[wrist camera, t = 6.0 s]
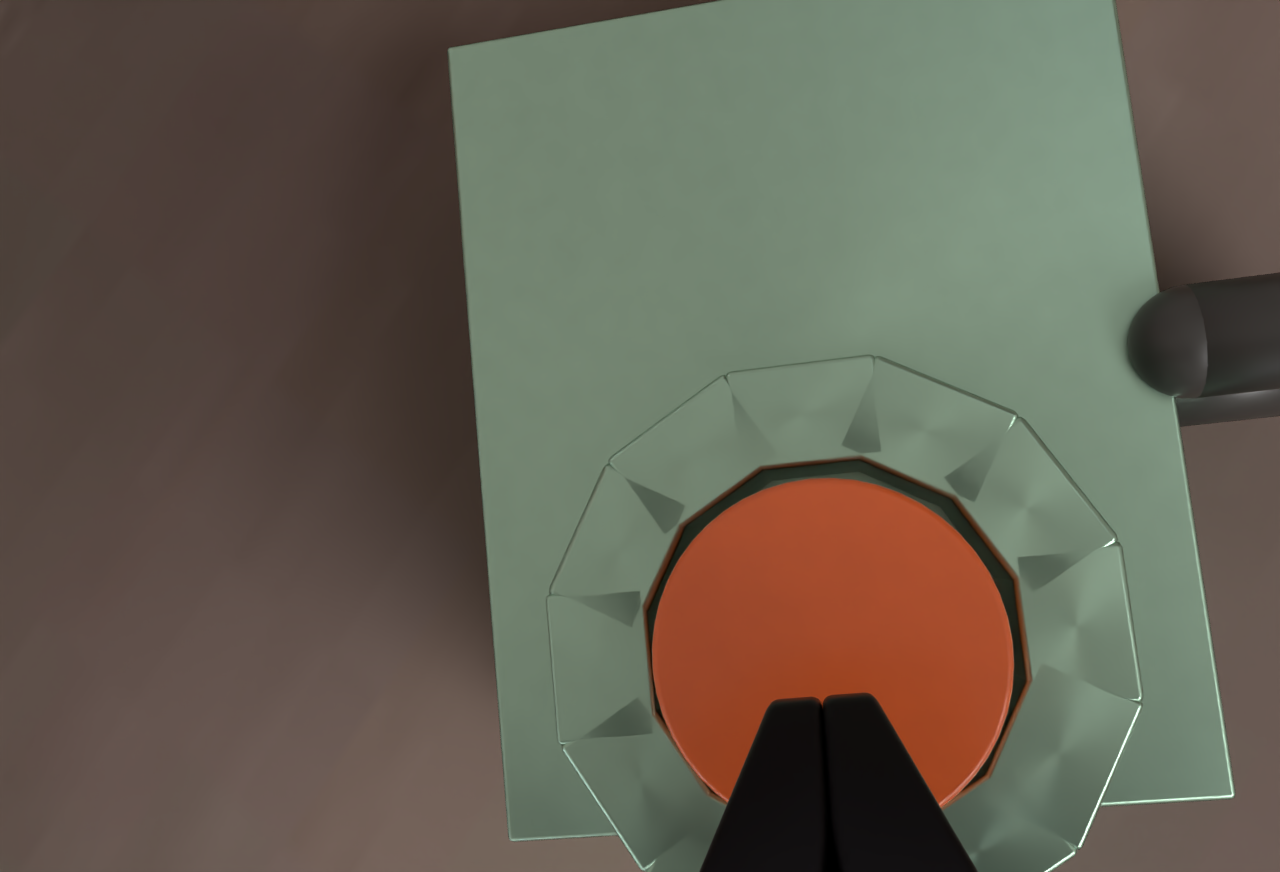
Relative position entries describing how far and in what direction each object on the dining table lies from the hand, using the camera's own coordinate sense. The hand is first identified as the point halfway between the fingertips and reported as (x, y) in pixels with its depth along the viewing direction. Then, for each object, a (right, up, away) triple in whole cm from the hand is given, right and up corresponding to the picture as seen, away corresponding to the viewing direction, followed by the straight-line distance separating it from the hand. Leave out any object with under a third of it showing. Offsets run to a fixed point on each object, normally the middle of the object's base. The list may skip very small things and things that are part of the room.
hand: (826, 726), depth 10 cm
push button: (+1, 0, +4) cm, 4 cm away
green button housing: (+2, +2, +11) cm, 12 cm away
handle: (+8, +3, +9) cm, 12 cm away
